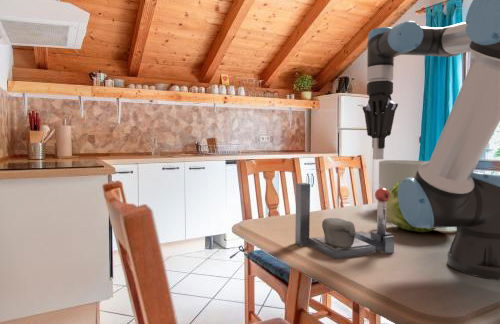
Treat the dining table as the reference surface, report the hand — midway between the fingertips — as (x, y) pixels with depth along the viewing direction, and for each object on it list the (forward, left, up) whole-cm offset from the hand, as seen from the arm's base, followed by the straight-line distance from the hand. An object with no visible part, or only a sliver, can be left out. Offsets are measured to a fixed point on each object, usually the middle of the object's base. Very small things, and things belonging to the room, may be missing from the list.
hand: (378, 159), depth 110 cm
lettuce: (+4, -19, -25) cm, 32 cm away
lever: (-9, +6, -22) cm, 25 cm away
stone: (-6, +18, -23) cm, 30 cm away
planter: (+32, -41, -25) cm, 57 cm away
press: (-4, +15, -25) cm, 29 cm away
